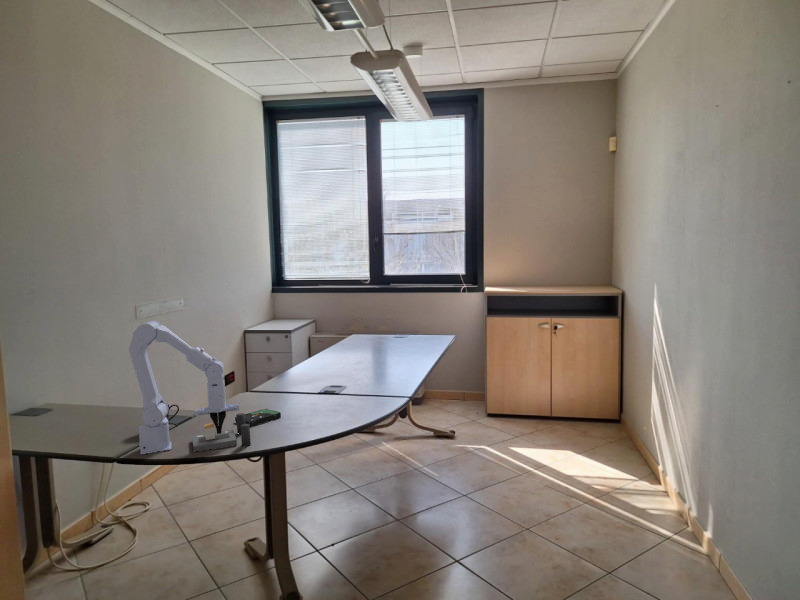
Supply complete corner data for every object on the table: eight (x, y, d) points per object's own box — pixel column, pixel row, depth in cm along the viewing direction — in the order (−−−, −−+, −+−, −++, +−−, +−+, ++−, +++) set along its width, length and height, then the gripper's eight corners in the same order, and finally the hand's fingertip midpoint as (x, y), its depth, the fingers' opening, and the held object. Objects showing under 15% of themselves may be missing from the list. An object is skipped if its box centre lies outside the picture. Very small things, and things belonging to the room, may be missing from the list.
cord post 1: (237, 434, 197) (236, 416, 197) (236, 432, 200) (235, 413, 199) (246, 433, 198) (245, 414, 198) (245, 431, 201) (244, 412, 200)
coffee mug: (144, 435, 200) (142, 409, 199) (148, 428, 208) (146, 403, 207) (178, 431, 203) (176, 405, 202) (180, 424, 211) (178, 400, 210)
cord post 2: (242, 447, 184) (241, 427, 184) (241, 444, 187) (240, 424, 186) (251, 445, 185) (250, 425, 185) (250, 442, 188) (248, 423, 188)
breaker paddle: (205, 440, 186) (205, 427, 185) (205, 436, 189) (204, 424, 189) (215, 438, 187) (214, 426, 186) (214, 435, 191) (213, 423, 190)
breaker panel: (193, 452, 181) (193, 446, 180) (192, 441, 192) (192, 435, 192) (237, 445, 186) (236, 439, 186) (233, 434, 197) (233, 429, 197)
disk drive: (249, 429, 205) (281, 418, 216) (249, 421, 205) (281, 411, 216) (234, 424, 212) (266, 414, 223) (234, 417, 212) (265, 407, 223)
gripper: (194, 400, 182) (197, 439, 183) (239, 395, 187) (241, 433, 188) (194, 395, 188) (196, 433, 189) (237, 390, 194) (239, 427, 195)
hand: (219, 432), depth 189 cm, fingers closed
